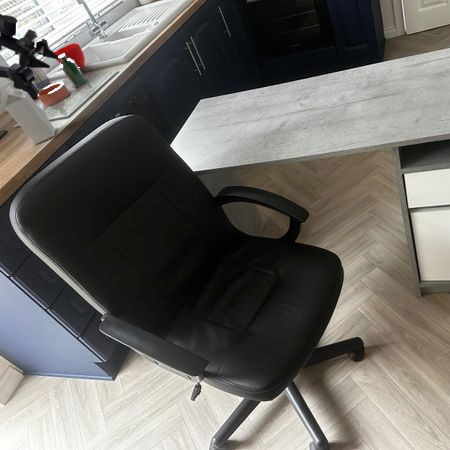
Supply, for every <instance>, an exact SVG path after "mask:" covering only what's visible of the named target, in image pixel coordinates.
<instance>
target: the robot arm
mask: <svg viewBox="0 0 450 450" xmlns="http://www.w3.org/2000/svg"><path fill="white" fill-rule="evenodd" d="M18 23H19V21H18V19H17V18H16V17H14V16H13V15H7V14H2V13H0V51H2V50H4V49H5V48H6V49H7V50H10V51H12V52H14V55H15V56H18V55H19V56H18V63H16V62H14V63H13V64H10V66H1V65H0V78H2V79H8V80H11V81H12V82H13V88H14V89H20V90H22V91H25V92H27V93H28V94H29V95H30V97H31V98H32V99H33V101H35V100H36V99H39V98H38V97H37V94H38V93H39V92H40V91H41V90H39V88H38V86H37V85H36V84H35V82H34V81H35V80H36V77H35V73H34V70H32V69H50V68H51V65H50V64H48V63H46V62H45V61H42V60H41V59H39V58H37V57H36V55H39V56H42V57H45V58H50V59H54V60H56V59H59V58H58V57H59V56H58V55H57V54H55V51H53V50H52V49H51V48H50V45H49V43H48V40H47V39H46V38H40V39H38V40H37V38H38V36H39V35H38V33H37V32H36V31H35V30H33V29H27V31H26V33H25V34H24V35H23V36H22V37H20V38H18V37H16V35H17V34H18ZM35 41H36V42H35Z"/></svg>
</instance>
